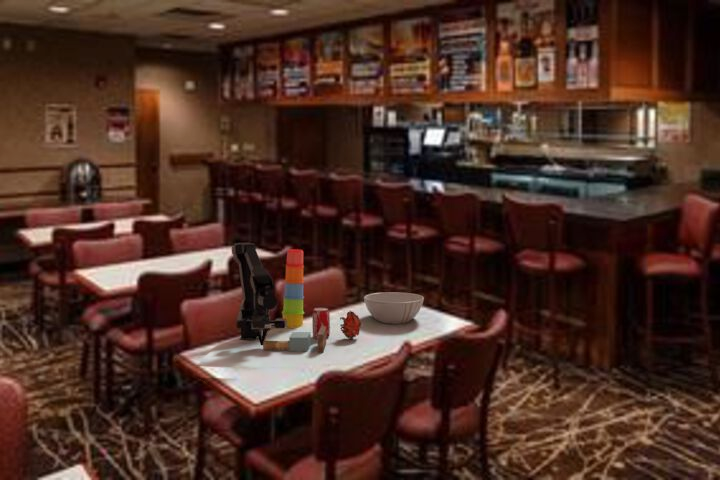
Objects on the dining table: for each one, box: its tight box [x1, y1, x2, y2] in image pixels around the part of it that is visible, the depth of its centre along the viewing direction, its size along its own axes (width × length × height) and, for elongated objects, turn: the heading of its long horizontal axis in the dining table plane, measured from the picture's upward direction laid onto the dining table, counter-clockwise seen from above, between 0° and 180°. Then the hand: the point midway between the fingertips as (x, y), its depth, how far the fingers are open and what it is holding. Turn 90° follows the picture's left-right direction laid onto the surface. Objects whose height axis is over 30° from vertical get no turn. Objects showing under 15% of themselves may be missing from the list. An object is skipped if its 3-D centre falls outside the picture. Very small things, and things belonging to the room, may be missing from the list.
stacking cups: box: [281, 248, 305, 329], centre depth 293 cm, size 10×10×35 cm
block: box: [288, 331, 311, 352], centre depth 261 cm, size 7×9×5 cm
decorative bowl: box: [363, 291, 425, 325], centre depth 304 cm, size 27×27×12 cm
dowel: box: [262, 340, 289, 351], centre depth 259 cm, size 10×4×4 cm
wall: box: [317, 326, 327, 354], centre depth 261 cm, size 2×14×7 cm, turn 178°
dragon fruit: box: [339, 309, 362, 340], centre depth 275 cm, size 8×8×12 cm
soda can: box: [311, 307, 331, 340], centre depth 278 cm, size 7×7×12 cm
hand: (262, 345), depth 262 cm, fingers closed
